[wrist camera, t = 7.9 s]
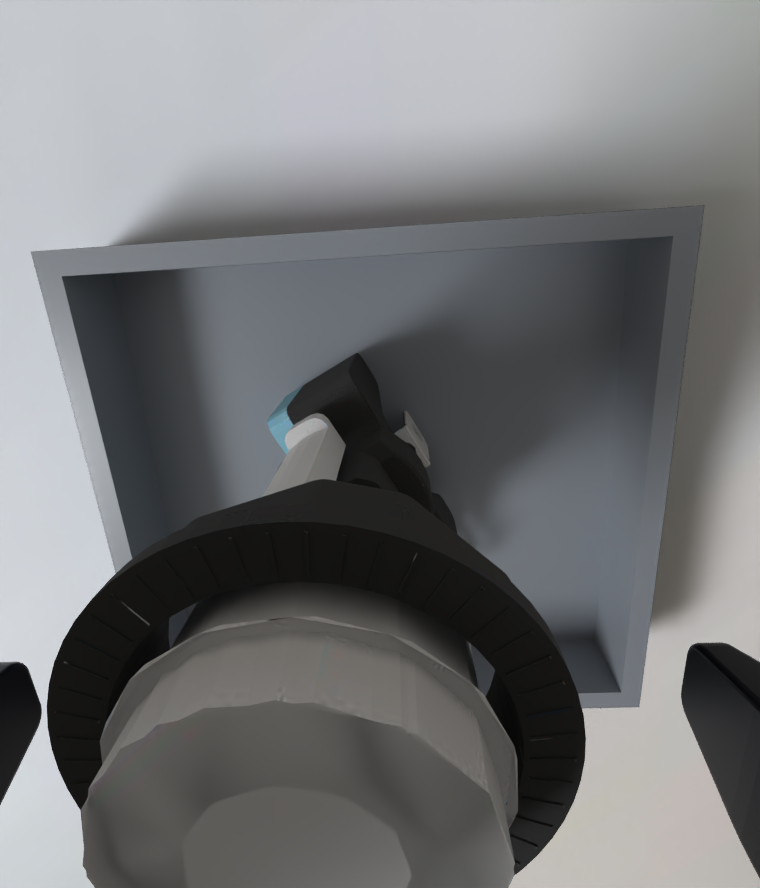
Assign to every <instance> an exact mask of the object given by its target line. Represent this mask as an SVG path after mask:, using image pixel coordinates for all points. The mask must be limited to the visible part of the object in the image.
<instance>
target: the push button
mask: <svg viewBox="0 0 760 888" xmlns="http://www.w3.org/2000/svg"><path fill="white" fill-rule="evenodd" d="M403 422H404V425H405V426H403V427H402V428H401V429H399V430H397V431H396V432H394V433H393V432H392V431H391V429H390V427H389V426H388V424H387V422H386V420H385V418H384V415H383V412H382V406H381V400H380V393H379V387H378V384H377V381H376V379H375V377H374V376H373V374H372V372H371V371H370V369H369V368H368V366H367V364H366V363H365V361H364V360H363V358H362V357H361V356H360V354H358V353H355V354H354V355H352V356H350V357H349V358H347V359H345V360H344V361H342V362H340V363H339V364H337V365H336V366H334V367H332V368H331V369H329V370H327V371H326V372H324V373H323V374H321V375H319V376H318V377H316V378H314V379H313V380H311V381H310V382H308V383H306V384H305V385H303V386H301V387H300V388H298V389H296V390H295V391H293V392H292V393H290V394H288V395H287V396H285V398H284V399H283V401H282V402H281V403H280V404H279V406H278V407H277V408H276V409H275V410H274V412H273V413H272V414H271V415H270V417H269V418H268V421H267V423H268V427H269V430H270V431H271V433H272V435H273V437H274V438H275V439H276V441H277V442H278V444H279V445H280V446H281V448H282V449H283V451H284V452H285V453H286V457H285V458H284V460H283V461H282V463H281V464H280V466H279V468H278V469H277V472H276V474H275V476H274V477H273V479H272V481H271V483H270V484H269V486H268V488H267V490H266V491H265V493H264V495H263V497H260V498H257V499H254V500H251V501H248V502H244V503H241V504H238V505H235V506H232V507H229V508H226V509H222V510H219V511H216V512H213V513H210V514H207V515H204V516H200V517H198V518H196V519H194V520H192V521H191V522H190V523H189V524H188V525H187V526H186V527H185V528H183V529H181V530H178V531H176V532H174V533H172V534H170V535H168V536H166V537H165V538H163V539H161V540H159V541H158V542H156V543H154V544H153V545H151V546H149V547H148V548H146V549H145V550H144V551H142V552H141V553H140V554H138V555H137V556H136V557H134V558H133V559H132V560H130V561H129V562H128V563H127V564H126V565H125V566H123V567H122V568H121V569H120V570H119V571H118V572H117V573H116V574H115V575H114V576H113V577H112V578H111V579H110V580H109V581H108V582H107V583H106V584H105V586H104V587H103V588H102V589H101V590H100V591H99V592H98V593H97V594H96V596H95V597H94V598H93V599H92V600H91V601H90V602H89V604H88V605H87V606H86V607H85V609H84V610H83V611H82V612H81V614H80V615H79V616H78V617H77V619H76V620H75V622H74V623H73V625H72V627H71V628H70V630H69V632H68V633H67V635H66V637H65V639H64V640H63V642H62V645H61V647H60V650H59V652H58V655H57V657H56V660H55V662H54V666H53V670H52V674H51V678H50V682H49V690H48V700H47V717H48V730H49V736H50V741H51V746H52V751H53V754H54V757H55V760H56V763H57V766H58V769H59V771H60V774H61V776H62V778H63V780H64V782H65V784H66V786H67V789H68V790H69V792H70V794H71V795H72V797H73V799H74V800H75V802H76V804H77V805H78V807H79V808H80V810H81V820H82V830H83V841H84V858H83V867H84V868H85V870H86V873H87V877H88V879H89V880H90V881H91V883H92V884H93V885H94V887H95V888H508V887H509V885H510V883H511V881H512V879H513V877H514V875H515V874H517V873H518V872H519V871H521V870H522V869H523V868H524V867H525V866H526V865H527V864H528V863H530V862H531V861H532V860H533V859H534V858H535V857H536V856H537V855H538V854H539V853H540V852H541V851H542V849H543V848H544V847H545V846H546V845H547V844H548V842H549V841H550V840H551V839H552V838H553V836H554V835H555V833H556V832H557V830H558V829H559V827H560V826H561V824H562V823H563V821H564V820H565V818H566V816H567V814H568V812H569V810H570V808H571V806H572V804H573V802H574V799H575V796H576V793H577V790H578V787H579V784H580V781H581V776H582V771H583V766H584V761H585V741H586V737H585V727H584V716H583V712H582V708H581V704H580V699H579V695H578V692H577V689H576V687H575V684H574V682H573V679H572V677H571V674H570V672H569V669H568V667H567V664H566V662H565V660H564V657H563V655H562V652H561V650H560V648H559V645H558V643H557V641H556V640H555V638H554V636H553V634H552V633H551V631H550V629H549V627H548V625H547V624H546V622H545V621H544V619H543V618H542V617H541V615H540V614H539V613H538V611H537V610H536V609H535V607H534V606H533V604H532V603H531V602H530V601H529V600H528V599H527V598H526V597H525V596H524V595H523V593H522V592H521V591H520V590H519V589H518V588H517V587H516V586H515V585H514V584H513V583H512V582H511V580H510V579H509V577H508V576H507V574H506V573H504V572H503V571H502V570H501V569H500V568H498V567H497V566H496V565H495V564H493V563H492V562H491V561H490V560H489V559H487V558H486V557H485V556H484V555H482V554H481V553H480V552H479V551H477V550H476V549H475V548H474V547H472V546H471V545H470V544H469V543H467V542H466V541H465V540H464V539H462V538H461V537H460V536H459V535H458V534H457V529H456V525H455V520H454V518H453V515H452V513H451V511H450V510H449V508H448V506H447V505H446V503H445V501H444V500H443V498H442V497H441V496H440V495H439V494H436V493H433V492H431V487H430V480H429V477H428V474H427V471H426V469H425V468H426V467H428V466H429V465H430V461H429V460H430V458H429V452H428V445H427V443H426V441H425V439H424V437H423V436H422V434H421V432H420V431H419V429H418V428H417V426H416V424H415V423H414V421H413V419H412V418H411V416H410V415H409V413H408V412H407V411H406V410H405V411H403ZM195 603H197V604H196V606H195V607H194V609H193V611H192V613H191V614H190V616H189V618H188V619H187V621H186V623H185V625H184V626H183V628H182V630H181V631H180V633H179V635H178V637H177V638H176V640H175V642H174V643H173V645H172V647H171V649H170V645H169V618H170V617H171V616H173V615H175V614H177V613H178V612H180V611H182V610H184V609H185V608H187V607H189V606H191V605H193V604H195ZM470 644H471V645H473V646H474V647H475V648H476V649H477V650H478V651H479V652H480V653H481V654H482V655H483V656H484V658H485V659H486V660H487V661H488V662H489V663H490V664H491V665H492V666H493V668H494V669H495V672H494V676H493V679H492V682H491V686H490V688H489V690H488V692H487V695H486V697H485V696H484V694H483V693H482V692H481V691H480V690H479V686H478V681H477V676H476V671H475V665H474V660H473V655H472V650H471V645H470Z"/></svg>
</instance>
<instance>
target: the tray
mask: <svg viewBox="0 0 760 888" xmlns="http://www.w3.org/2000/svg"><path fill="white" fill-rule="evenodd" d="M703 212H704V205H701V206H686V207H672V208H657V209H643V210H628V211H614V212H599V213H585V214H570V215H556V216H541V217H527V218H512V219H498V220H483V221H469V222H454V223H439V224H425V225H410V226H396V227H381V228H367V229H352V230H338V231H323V232H309V233H294V234H280V235H265V236H251V237H236V238H222V239H207V240H192V241H178V242H163V243H149V244H134V245H120V246H105V247H91V248H76V249H62V250H47V251H33V252H31V254H32V258H33V262H34V265H35V269H36V273H37V277H38V281H39V284H40V288H41V292H42V296H43V300H44V303H45V307H46V311H47V315H48V318H49V322H50V326H51V330H52V334H53V337H54V341H55V345H56V349H57V353H58V356H59V360H60V364H61V368H62V371H63V375H64V379H65V383H66V387H67V390H68V394H69V398H70V402H71V405H72V409H73V413H74V417H75V421H76V424H77V428H78V432H79V436H80V440H81V443H82V447H83V451H84V455H85V458H86V462H87V466H88V470H89V474H90V477H91V481H92V485H93V489H94V493H95V496H96V500H97V504H98V508H99V511H100V515H101V519H102V523H103V527H104V530H105V534H106V538H107V542H108V545H109V549H110V553H111V557H112V561H113V564H114V568H115V572H116V573H117V572H118V571H119V570H120V569H121V568H122V567H123V566H125V565H126V564H127V563H128V562H129V561H130V560H132V559H133V558H134V557H136V556H137V555H138V554H140V553H141V552H142V551H144V550H145V549H146V548H148V547H149V546H151V545H153V544H154V543H156V542H158V541H159V540H161V539H163V538H165V537H166V536H168V535H170V534H172V533H174V532H176V531H178V530H181V529H183V528H185V527H186V526H187V525H188V524H189V523H190V522H191V521H192V520H194V519H196V518H198V517H200V516H204V515H207V514H210V513H213V512H216V511H219V510H222V509H226V508H229V507H232V506H235V505H238V504H241V503H244V502H248V501H251V500H254V499H257V498H260V497H263V495H264V493H265V491H266V490H267V488H268V486H269V484H270V483H271V481H272V479H273V477H274V476H275V474H276V472H277V469H278V468H279V466H280V464H281V463H282V461H283V460H284V458H285V457H286V453H285V452H284V451H283V449H282V448H281V446H280V445H279V444H278V442H277V441H276V439H275V438H274V437H273V435H272V433H271V431H270V430H269V427H268V423H267V421H268V418H269V417H270V415H271V414H272V413H273V412H274V410H275V409H276V408H277V407H278V406H279V404H280V403H281V402H282V401H283V399H284V398H285V396H287V395H288V394H290V393H292V392H293V391H295V390H296V389H298V388H300V387H301V386H303V385H305V384H306V383H308V382H310V381H311V380H313V379H314V378H316V377H318V376H319V375H321V374H323V373H324V372H326V371H327V370H329V369H331V368H332V367H334V366H336V365H337V364H339V363H340V362H342V361H344V360H345V359H347V358H349V357H350V356H352V355H354V354H355V353H358V354H360V356H361V357H362V358H363V360H364V361H365V363H366V364H367V366H368V368H369V369H370V371H371V372H372V374H373V376H374V377H375V379H376V381H377V384H378V387H379V393H380V400H381V406H382V412H383V415H384V418H385V420H386V422H387V424H388V426H389V427H390V429H391V431H392V432H393V433H394V432H396V431H397V430H399V429H401V428H402V427H403V426H405V425H404V422H403V411H405V410H406V411H407V412H408V413H409V415H410V416H411V418H412V419H413V421H414V423H415V424H416V426H417V428H418V429H419V431H420V432H421V434H422V436H423V437H424V439H425V441H426V443H427V445H428V452H429V458H430V460H429V461H430V465H429V466H428V467H426V468H425V469H426V471H427V474H428V477H429V480H430V487H431V492H433V493H436V494H439V495H440V496H441V497H442V498H443V500H444V501H445V503H446V505H447V506H448V508H449V510H450V511H451V513H452V515H453V518H454V520H455V525H456V529H457V534H458V535H459V536H460V537H461V538H462V539H464V540H465V541H466V542H467V543H469V544H470V545H471V546H472V547H474V548H475V549H476V550H477V551H479V552H480V553H481V554H482V555H484V556H485V557H486V558H487V559H489V560H490V561H491V562H492V563H493V564H495V565H496V566H497V567H498V568H500V569H501V570H502V571H503V572H504V573H506V574H507V576H508V577H509V579H510V580H511V582H512V583H513V584H514V585H515V586H516V587H517V588H518V589H519V590H520V591H521V592H522V593H523V595H524V596H525V597H526V598H527V599H528V600H529V601H530V602H531V603H532V604H533V606H534V607H535V609H536V610H537V611H538V613H539V614H540V615H541V617H542V618H543V619H544V621H545V622H546V624H547V625H548V627H549V629H550V631H551V633H552V634H553V636H554V638H555V640H556V641H557V643H558V645H559V648H560V650H561V652H562V655H563V657H564V660H565V662H566V664H567V667H568V669H569V672H570V674H571V677H572V679H573V682H574V684H575V687H576V689H577V692H578V695H579V699H580V704H581V708H619V707H639V704H640V697H641V689H642V681H643V674H644V666H645V658H646V651H647V643H648V635H649V627H650V620H651V612H652V604H653V597H654V589H655V581H656V574H657V566H658V558H659V550H660V543H661V535H662V527H663V520H664V512H665V504H666V497H667V489H668V481H669V473H670V466H671V458H672V450H673V443H674V435H675V427H676V419H677V412H678V404H679V396H680V389H681V381H682V373H683V366H684V358H685V350H686V342H687V335H688V327H689V319H690V312H691V304H692V296H693V289H694V281H695V273H696V265H697V258H698V250H699V242H700V235H701V227H702V219H703ZM196 604H197V603H195V604H193V605H191V606H189V607H187V608H185V609H184V610H182V611H180V612H178V613H177V614H175V615H173V616H171V617H170V618H169V645H170V649H171V647H172V645H173V643H174V642H175V640H176V638H177V637H178V635H179V633H180V631H181V630H182V628H183V626H184V625H185V623H186V621H187V619H188V618H189V616H190V614H191V613H192V611H193V609H194V607H195V606H196ZM470 645H471V644H470ZM471 650H472V655H473V660H474V665H475V671H476V676H477V681H478V686H479V690H480V691H481V692H482V693H483V694H484V696H485V697H486V695H487V692H488V690H489V688H490V686H491V682H492V679H493V676H494V672H495V669H494V668H493V666H492V665H491V664H490V663H489V662H488V661H487V660H486V659H485V658H484V656H483V655H482V654H481V653H480V652H479V651H478V650H477V649H476V648H475V647H474V646H473V645H471Z"/></svg>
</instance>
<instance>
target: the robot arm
mask: <svg viewBox="0 0 760 888" xmlns="http://www.w3.org/2000/svg"><path fill="white" fill-rule="evenodd" d="M681 698H682V705H683V708H684V712H685V714H686V717H687V719H688V721H689V724H690V726H691V728H692V731H693V733H694V735H695V738H696V740H697V742H698V745H699V747H700V749H701V752H702V754H703V756H704V759H705V761H706V763H707V766H708V768H709V770H710V773H711V775H712V777H713V780H714V782H715V784H716V787H717V789H718V791H719V794H720V796H721V798H722V801H723V803H724V805H725V808H726V810H727V812H728V815H729V817H730V819H731V822H732V824H733V826H734V828H735V830H736V833H737V835H738V837H739V839H740V841H741V843H742V845H743V847H744V849H745V851H746V853H747V855H748V857H749V859H750V861H751V863H752V865H753V867H754V868H755V870H756V872H757V874H758V876H759V878H760V662H759V661H757V660H755V659H754V658H752V657H750V656H748V655H747V654H745V653H743V652H741V651H740V650H738V649H736V648H734V647H733V646H731V645H729V644H726V643H696V644H694V645H692V646H691V647H690V648H689V650H688V654H687V660H686V666H685V672H684V678H683V684H682V691H681ZM41 714H42V710H41V704H40V701H39V698H38V695H37V693H36V690H35V687H34V684H33V681H32V678H31V676H30V673H29V670H28V668H27V667H26V666H25V665H24V664H23V663H20V662H0V805H1V802H2V800H3V798H4V796H5V794H6V792H7V790H8V788H9V786H10V784H11V782H12V780H13V778H14V776H15V774H16V772H17V770H18V768H19V766H20V763H21V761H22V759H23V757H24V755H25V753H26V751H27V749H28V747H29V745H30V743H31V741H32V739H33V737H34V735H35V733H36V731H37V729H38V726H39V723H40V720H41Z"/></svg>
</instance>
